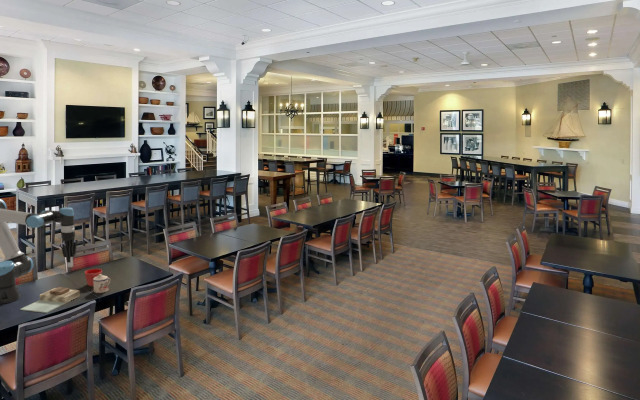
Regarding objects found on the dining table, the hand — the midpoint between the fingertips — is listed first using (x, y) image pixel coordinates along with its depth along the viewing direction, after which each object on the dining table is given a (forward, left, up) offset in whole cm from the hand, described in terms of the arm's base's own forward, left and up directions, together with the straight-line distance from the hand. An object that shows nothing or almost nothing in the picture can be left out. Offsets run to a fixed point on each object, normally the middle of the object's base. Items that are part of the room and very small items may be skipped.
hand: (70, 266), depth 268 cm
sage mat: (0, -23, -18) cm, 29 cm away
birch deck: (0, -10, -18) cm, 21 cm away
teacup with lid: (+16, +9, -18) cm, 26 cm away
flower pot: (+3, +17, -18) cm, 25 cm away
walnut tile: (0, -10, -14) cm, 17 cm away
